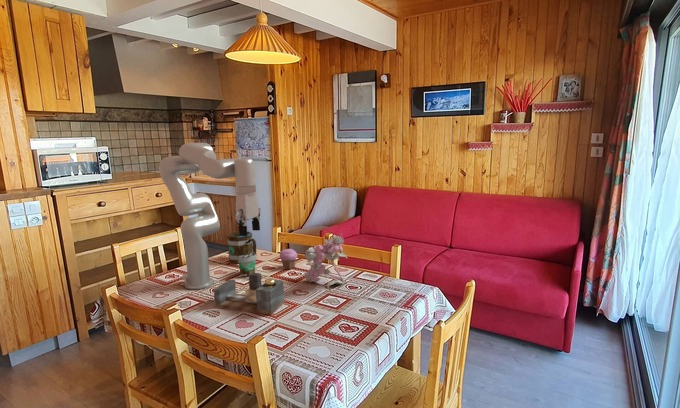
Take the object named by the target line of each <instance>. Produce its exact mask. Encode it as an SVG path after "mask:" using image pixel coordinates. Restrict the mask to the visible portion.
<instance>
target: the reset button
mask: <svg viewBox="0 0 680 408" xmlns="http://www.w3.org/2000/svg"><path fill="white" fill-rule="evenodd" d="M274 280H275V279H274V278H267V279H265V280H264V283H265V285H266V286H267V287H273V285H274V284H275V282H274Z"/></svg>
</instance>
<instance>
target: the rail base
mask: <svg viewBox="0 0 680 408" xmlns="http://www.w3.org/2000/svg"><path fill="white" fill-rule="evenodd" d="M274 282H275V284H274V285H273V287H267V286H266V285H265V282H264V283H263V284H261V286H260V287H259V288H257V289H256V300H257V302H250V301H246V295H245V294H243V293H241V294H240V293H237V287H236V280H235V279H229V280H227V281H225V282H224V283H222V284H220V285H218V286H217V287H215V288H213V296H214V297H213V299H214V307H215V308H217V309H218V308H219V309H226V310H232V311H233V310H234V311H240V312H241V311H242V312H248V313H256V314H260V315H261V314H262V315H271V316H272V315H273V314H274V313H275V312H277V310H278V309H280V308H281V307H282V306H283V305H284V304H285V290H284V289H285V288H284V287H285V286H284V280H281V279H274Z"/></svg>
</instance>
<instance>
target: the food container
mask: <svg viewBox="0 0 680 408" xmlns="http://www.w3.org/2000/svg"><path fill="white" fill-rule="evenodd" d="M256 260H257V253H256V254H255V253H254V252H249V253H248V254H247V255H245V256H243V257H242V258H238V263H239V265H238V266H239V275H240V278H241V279H246V278H249V274H250V273H256Z"/></svg>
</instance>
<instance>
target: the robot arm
mask: <svg viewBox="0 0 680 408" xmlns="http://www.w3.org/2000/svg"><path fill="white" fill-rule="evenodd" d="M158 168H159V170H158V171H159V175H160V178H161V180H162V182H163V183H164V185H165V187H166V188H167V190H168V192H169V193H170V197H171V199H172V202H173V204H174V206H175V207H174V208H175V209H176V212H177V213H178V215H179V216H181V217H189V216H193V217H189V218H186V219H184V220H182V222H181V223H180V232H181V237H182V240H183V244H184V252H185V263H186V273H183V275H182V277H181V280H184V281H185V282H184V287H185V289H187V290H192V291H193V290H202V289H206V288H209V287H211V286H213V284H214V281H215V280H214V279H213V278H212V277H211V274H210V263H209V251H208V245H207V243H206V242H205V240H204V239H203V237H207V236H210V235H214V234H216V233H218V232H219V230H220V228H221V225H220V224H221V223H220V220H219V217H218V214H217V212H216V209H215V206H214V204H213V201H212V200H211V198H210V197H209V196H208V194H206V193H205V192H204V193H203V192H199V193H192V192H191V188H190V186H189V184H188V183H187V182H186V181H185V180H184V179H183V178H182V177H181V176H182V175H192V174H197V173H199V172H200V171H201V173H202V174H203V175H205V176H208V177H209V178H211V179H216V180H222V179H232V178H234V179H235V180H234V182H235V189H236V190H235V192H236V196H235V216H234V219H235V221H236V224H237V226H238V232H239V234H240V236H247V235H248V234H247V232H248V225H247V222H248V221H249V220H251V226H252V227H251V228H252V231H260V230H261V226H260V224H261V223H260V221H261V218H260V217H261V208H260V207H259V203H258V196H257V186H256V176H255V175H256V174H255V165H254V160H253V159H252V158H250V157H249V158H235V157H234V158H221V159H217V156H216V153H215V151H214V148H213V147H212V145H210V144H209V143H207V142H187V143H184V144H183V145H181V146H180V148H179V149H178V155H173V156H172V155H171V156H167V157H164V158H163V159H161V161H159V165H158ZM194 215H196V216H194Z"/></svg>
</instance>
